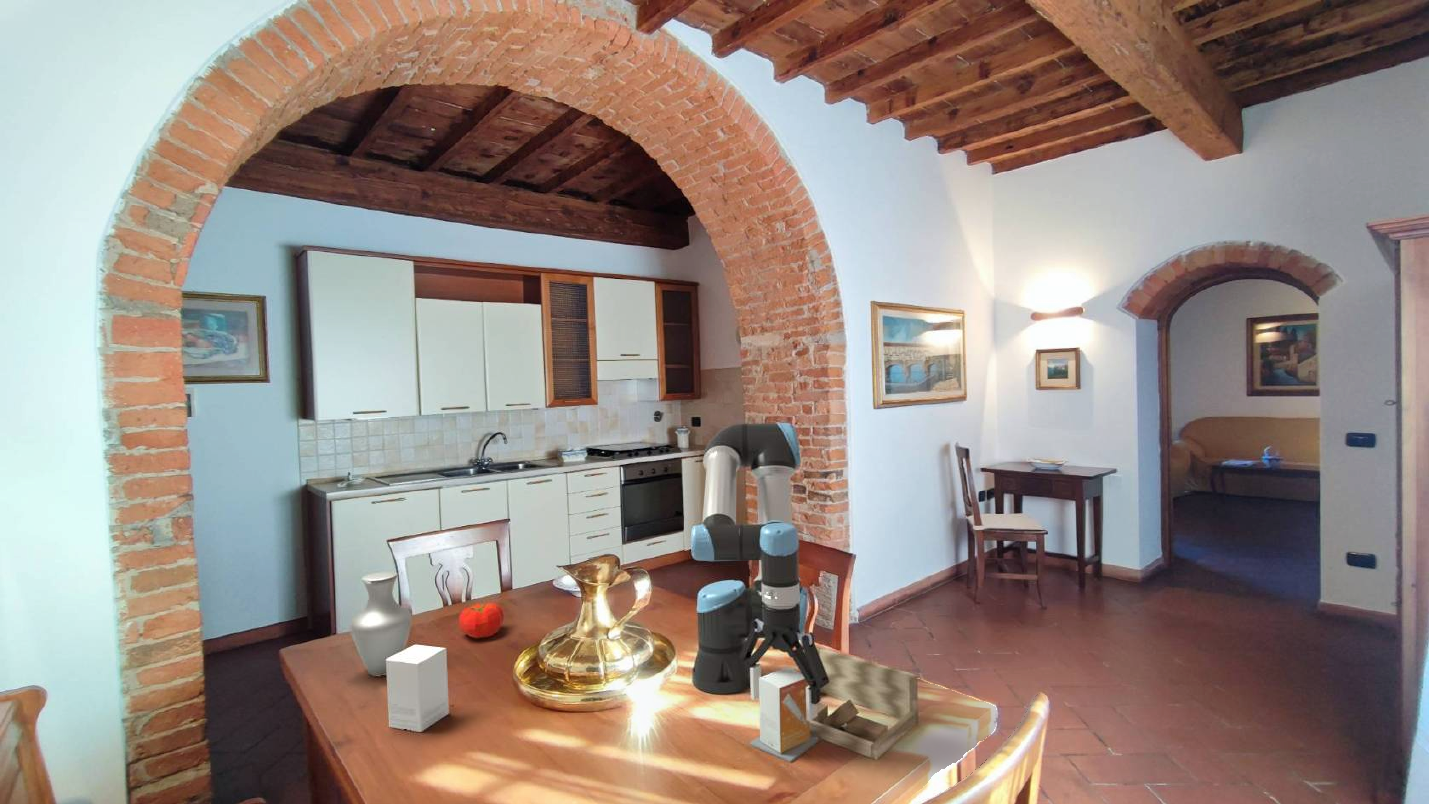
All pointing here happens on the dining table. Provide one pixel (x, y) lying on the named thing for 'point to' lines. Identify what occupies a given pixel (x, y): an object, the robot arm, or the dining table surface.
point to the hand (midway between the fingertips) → (783, 707)
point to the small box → (783, 709)
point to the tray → (868, 699)
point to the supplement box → (417, 687)
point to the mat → (786, 755)
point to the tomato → (481, 620)
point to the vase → (380, 624)
